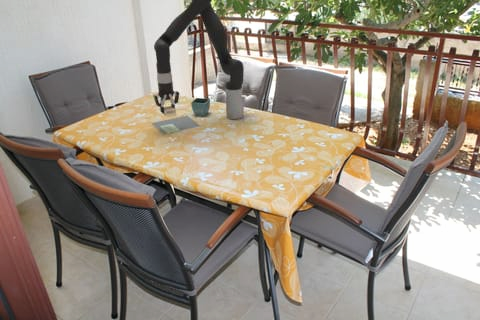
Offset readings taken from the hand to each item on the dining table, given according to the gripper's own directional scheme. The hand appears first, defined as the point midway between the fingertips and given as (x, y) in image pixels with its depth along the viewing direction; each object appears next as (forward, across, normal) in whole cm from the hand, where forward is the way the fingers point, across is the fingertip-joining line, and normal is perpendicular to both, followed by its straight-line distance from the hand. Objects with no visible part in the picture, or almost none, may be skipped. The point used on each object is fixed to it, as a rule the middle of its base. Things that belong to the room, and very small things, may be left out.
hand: (168, 112), depth 214 cm
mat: (+10, +5, +4) cm, 12 cm away
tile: (+1, 0, 0) cm, 1 cm away
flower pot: (+10, +24, +11) cm, 29 cm away
